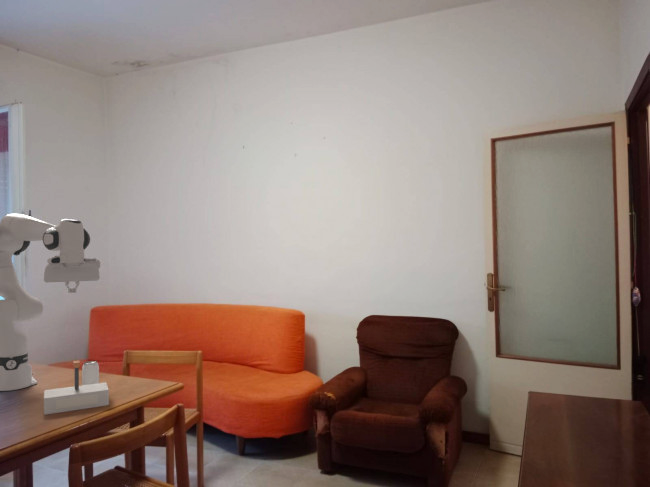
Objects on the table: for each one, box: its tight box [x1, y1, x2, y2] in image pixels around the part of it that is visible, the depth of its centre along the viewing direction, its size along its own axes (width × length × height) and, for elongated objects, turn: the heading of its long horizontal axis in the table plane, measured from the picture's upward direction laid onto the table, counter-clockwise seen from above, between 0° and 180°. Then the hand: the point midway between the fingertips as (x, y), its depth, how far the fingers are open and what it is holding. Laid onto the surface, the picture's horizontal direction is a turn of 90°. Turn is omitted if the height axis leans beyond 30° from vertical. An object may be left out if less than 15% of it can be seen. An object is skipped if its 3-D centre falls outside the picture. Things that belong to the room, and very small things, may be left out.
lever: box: [72, 360, 81, 390], centre depth 192 cm, size 4×2×11 cm, turn 29°
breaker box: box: [43, 382, 110, 416], centre depth 192 cm, size 12×22×6 cm, turn 119°
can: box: [81, 360, 100, 385], centre depth 212 cm, size 6×6×12 cm
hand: (72, 292), depth 201 cm, fingers closed
